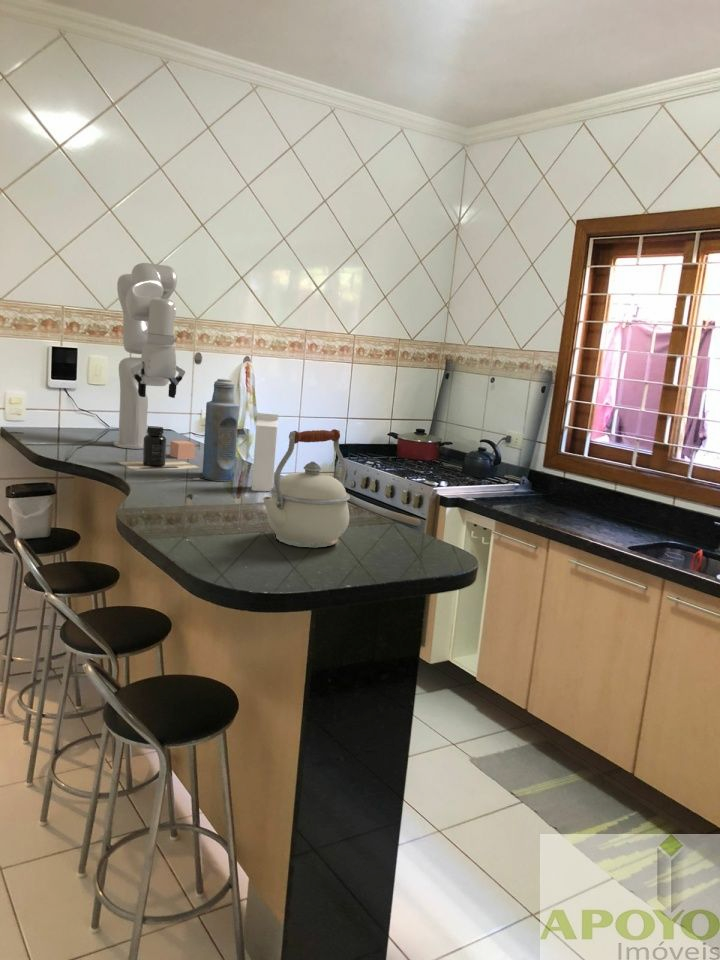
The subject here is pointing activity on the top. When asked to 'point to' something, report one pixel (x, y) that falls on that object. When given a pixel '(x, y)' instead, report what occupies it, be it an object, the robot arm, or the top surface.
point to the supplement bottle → (154, 447)
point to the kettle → (309, 497)
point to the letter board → (167, 466)
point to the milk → (264, 452)
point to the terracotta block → (182, 449)
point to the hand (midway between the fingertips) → (157, 396)
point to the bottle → (221, 433)
